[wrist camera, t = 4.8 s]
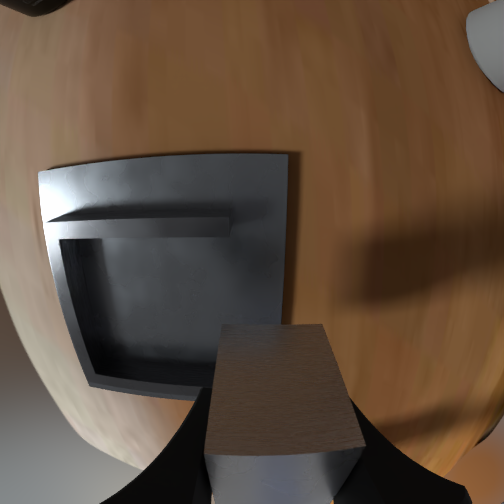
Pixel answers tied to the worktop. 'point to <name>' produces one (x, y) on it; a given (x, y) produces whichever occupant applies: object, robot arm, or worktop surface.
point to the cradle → (164, 262)
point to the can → (488, 40)
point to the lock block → (279, 417)
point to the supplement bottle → (32, 6)
